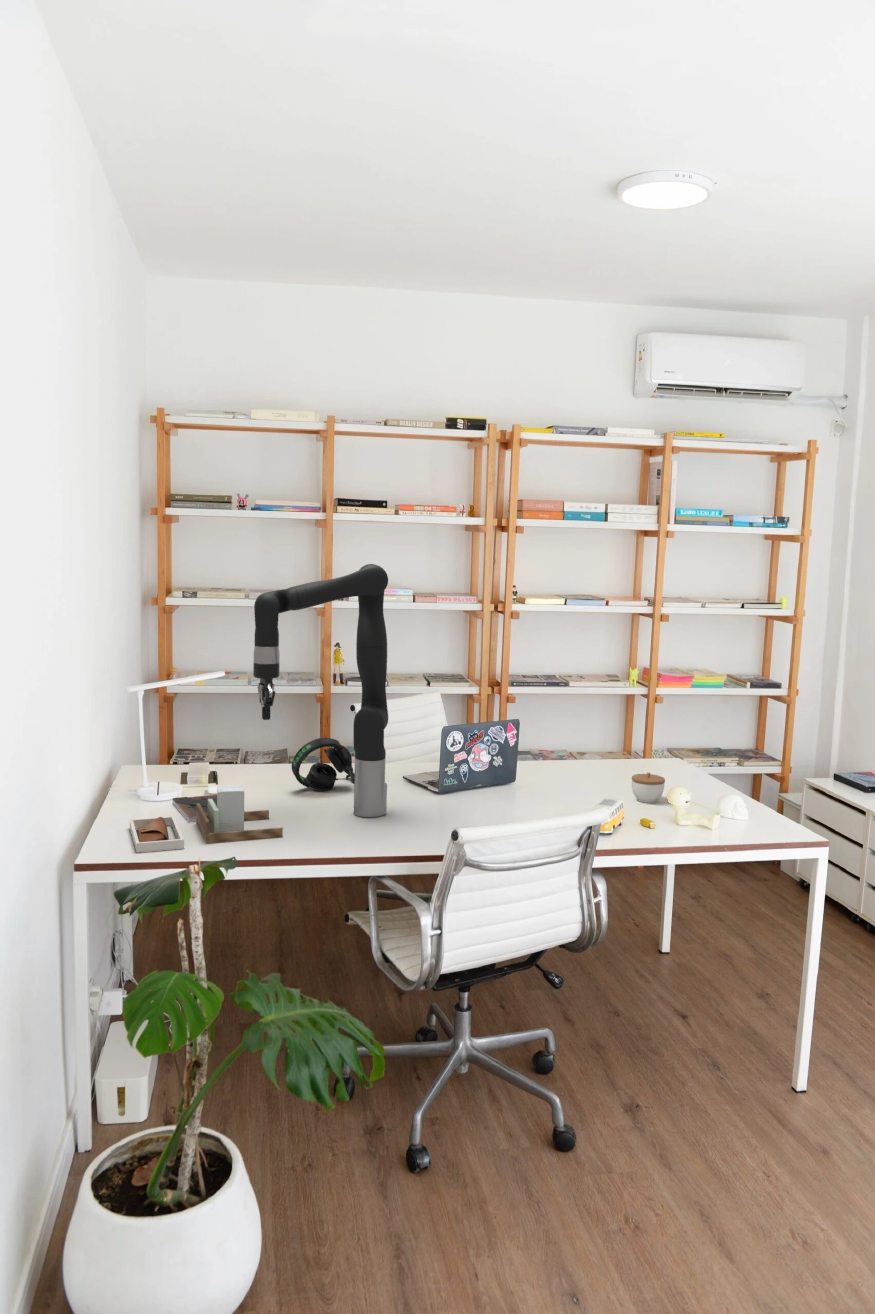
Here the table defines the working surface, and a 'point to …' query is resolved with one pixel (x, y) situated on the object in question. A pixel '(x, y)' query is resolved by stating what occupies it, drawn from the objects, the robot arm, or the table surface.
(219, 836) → the lane
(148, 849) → the case corral
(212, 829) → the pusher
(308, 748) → the headset
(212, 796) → the picture frame
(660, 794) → the lidded jar
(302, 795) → the table surface
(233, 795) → the supplement box
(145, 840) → the sunglasses case
